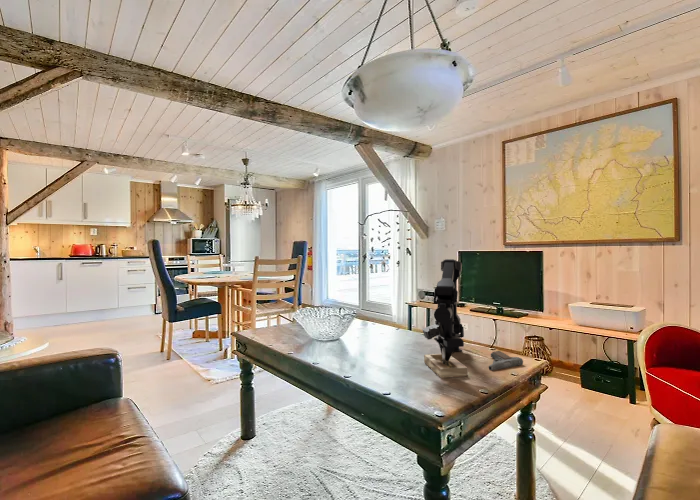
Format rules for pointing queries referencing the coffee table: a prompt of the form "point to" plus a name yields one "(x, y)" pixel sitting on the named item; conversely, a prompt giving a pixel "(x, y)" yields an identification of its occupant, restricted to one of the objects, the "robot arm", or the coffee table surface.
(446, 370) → the keyhole board
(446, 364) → the peg
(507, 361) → the handgun
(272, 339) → the coffee table surface
